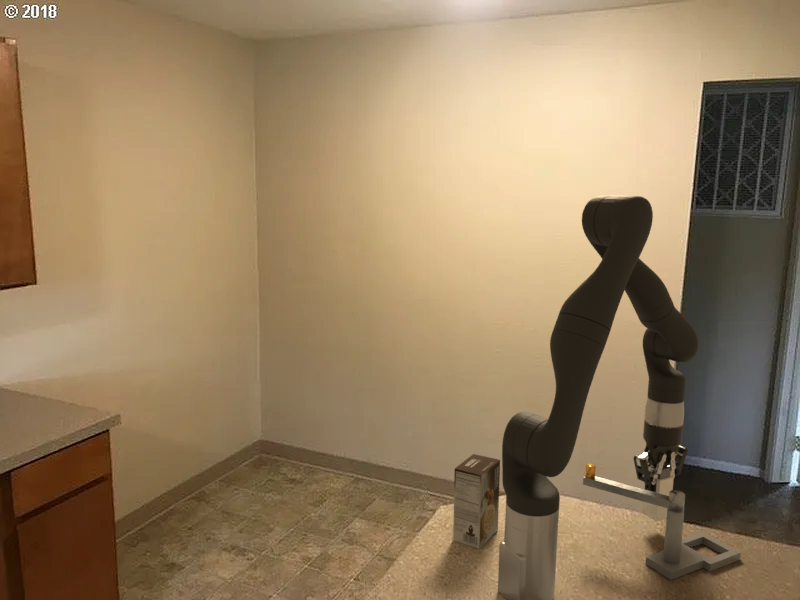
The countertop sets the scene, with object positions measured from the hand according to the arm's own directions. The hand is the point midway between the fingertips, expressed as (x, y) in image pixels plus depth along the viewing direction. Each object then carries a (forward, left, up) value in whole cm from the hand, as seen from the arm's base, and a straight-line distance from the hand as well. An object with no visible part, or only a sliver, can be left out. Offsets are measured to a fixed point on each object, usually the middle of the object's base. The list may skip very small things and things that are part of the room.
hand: (657, 496), depth 143 cm
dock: (-3, -11, -8) cm, 14 cm away
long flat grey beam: (-12, -4, +4) cm, 13 cm away
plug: (0, 0, -4) cm, 4 cm away
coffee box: (-35, +16, -8) cm, 39 cm away
